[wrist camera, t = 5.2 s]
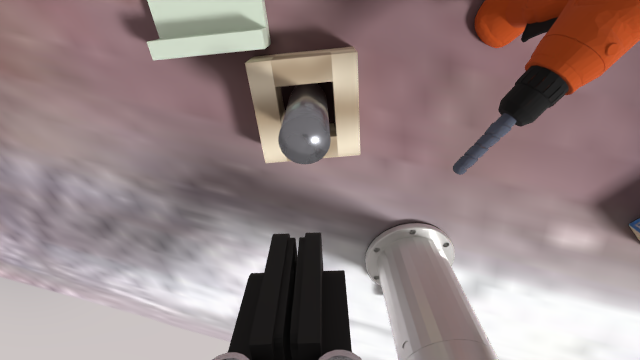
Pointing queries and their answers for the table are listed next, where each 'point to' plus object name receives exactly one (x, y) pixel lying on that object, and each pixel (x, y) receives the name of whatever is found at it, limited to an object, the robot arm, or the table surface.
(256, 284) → the robot arm
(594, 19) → the toy drill
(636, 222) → the stack of blocks
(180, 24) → the tray
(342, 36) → the table surface
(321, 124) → the grey round peg
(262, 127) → the socket
